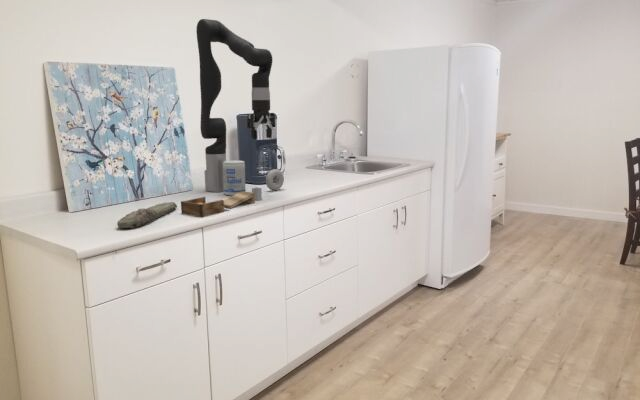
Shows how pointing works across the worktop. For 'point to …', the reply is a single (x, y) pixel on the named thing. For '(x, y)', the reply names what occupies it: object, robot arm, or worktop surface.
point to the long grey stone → (146, 215)
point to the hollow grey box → (257, 193)
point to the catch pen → (201, 207)
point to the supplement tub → (233, 177)
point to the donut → (278, 183)
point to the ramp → (239, 199)
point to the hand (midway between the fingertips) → (261, 138)
